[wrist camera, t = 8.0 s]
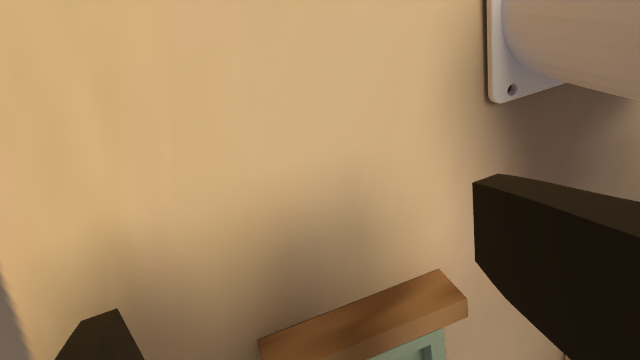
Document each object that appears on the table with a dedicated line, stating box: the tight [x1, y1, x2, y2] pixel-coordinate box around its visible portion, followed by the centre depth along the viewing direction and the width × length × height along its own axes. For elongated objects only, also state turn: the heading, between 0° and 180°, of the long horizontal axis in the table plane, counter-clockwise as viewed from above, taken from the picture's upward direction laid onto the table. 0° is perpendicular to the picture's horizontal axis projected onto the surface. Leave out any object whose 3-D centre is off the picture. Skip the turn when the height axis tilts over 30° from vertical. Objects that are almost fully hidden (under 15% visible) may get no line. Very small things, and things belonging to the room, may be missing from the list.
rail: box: [258, 269, 468, 360], centre depth 22 cm, size 10×1×2 cm, turn 102°
